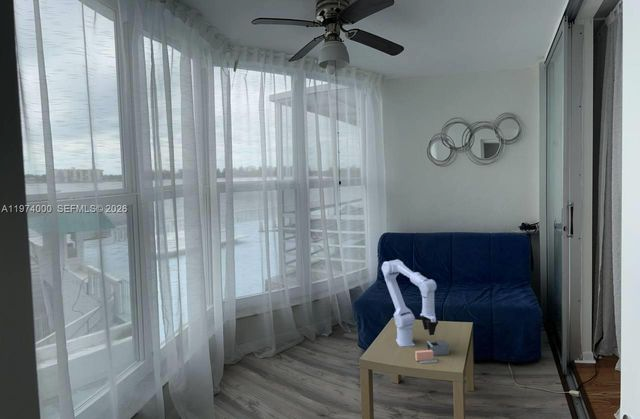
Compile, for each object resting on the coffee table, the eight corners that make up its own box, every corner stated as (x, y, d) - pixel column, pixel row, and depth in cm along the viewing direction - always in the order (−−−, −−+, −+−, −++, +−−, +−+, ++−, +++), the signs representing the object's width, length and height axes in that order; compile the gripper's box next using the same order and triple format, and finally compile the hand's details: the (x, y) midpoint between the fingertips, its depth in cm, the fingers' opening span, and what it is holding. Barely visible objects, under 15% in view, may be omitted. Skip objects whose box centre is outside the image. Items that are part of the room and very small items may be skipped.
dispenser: (427, 351, 212) (426, 341, 212) (444, 349, 213) (444, 339, 213) (431, 355, 206) (431, 345, 206) (449, 354, 207) (449, 344, 207)
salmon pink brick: (415, 359, 202) (415, 351, 202) (431, 358, 203) (431, 349, 203) (416, 360, 200) (416, 352, 200) (433, 359, 201) (433, 351, 201)
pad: (416, 357, 205) (416, 356, 205) (432, 356, 206) (432, 355, 206) (421, 363, 198) (421, 362, 198) (437, 362, 199) (437, 361, 199)
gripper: (415, 301, 216) (416, 327, 216) (425, 309, 201) (426, 337, 202) (429, 300, 216) (430, 326, 217) (439, 308, 202) (440, 336, 203)
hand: (429, 332), depth 210 cm, fingers open, 7 cm apart
